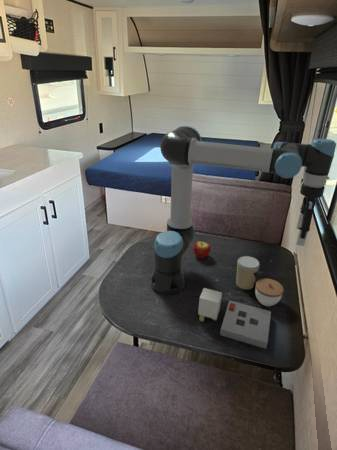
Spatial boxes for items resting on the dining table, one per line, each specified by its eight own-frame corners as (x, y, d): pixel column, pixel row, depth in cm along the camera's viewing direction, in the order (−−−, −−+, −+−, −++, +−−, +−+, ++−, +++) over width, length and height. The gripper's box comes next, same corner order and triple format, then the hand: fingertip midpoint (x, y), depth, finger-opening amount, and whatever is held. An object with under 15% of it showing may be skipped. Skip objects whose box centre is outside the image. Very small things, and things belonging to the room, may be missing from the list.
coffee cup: (256, 292, 128) (260, 269, 123) (234, 289, 130) (237, 266, 124) (254, 279, 136) (259, 257, 131) (234, 276, 138) (237, 254, 132)
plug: (197, 320, 113) (199, 297, 108) (201, 309, 118) (203, 287, 113) (215, 325, 111) (218, 303, 106) (219, 314, 116) (222, 292, 111)
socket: (219, 334, 107) (221, 327, 105) (228, 306, 120) (229, 298, 118) (266, 349, 102) (268, 341, 100) (269, 317, 115) (271, 309, 113)
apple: (192, 251, 156) (193, 235, 151) (208, 252, 156) (210, 235, 151) (193, 260, 148) (194, 243, 144) (210, 261, 148) (212, 244, 144)
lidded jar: (259, 289, 130) (263, 271, 126) (283, 300, 124) (288, 282, 120) (248, 302, 122) (252, 283, 118) (273, 314, 116) (278, 295, 112)
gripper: (328, 198, 94) (311, 254, 103) (322, 175, 115) (309, 224, 124) (302, 194, 96) (289, 250, 106) (301, 173, 117) (290, 221, 127)
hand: (300, 236), depth 115 cm, fingers open, 13 cm apart
